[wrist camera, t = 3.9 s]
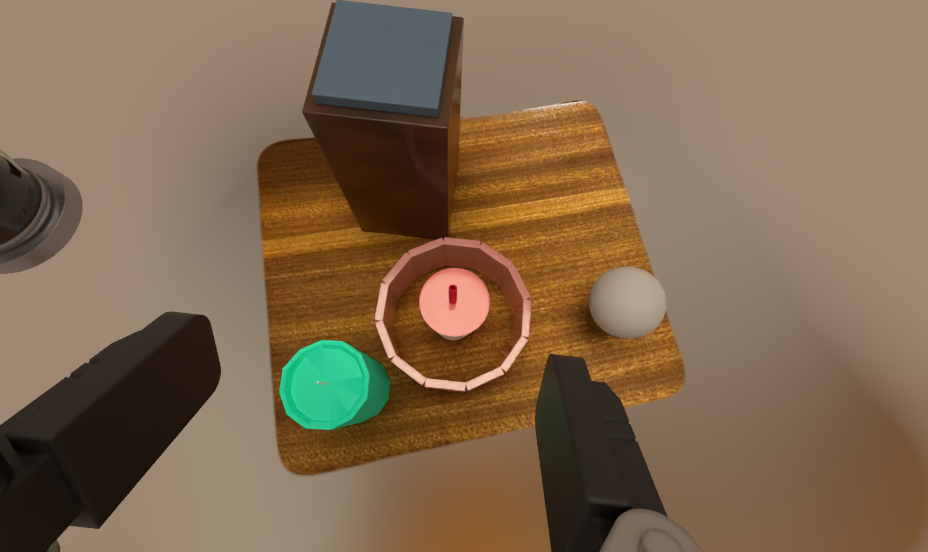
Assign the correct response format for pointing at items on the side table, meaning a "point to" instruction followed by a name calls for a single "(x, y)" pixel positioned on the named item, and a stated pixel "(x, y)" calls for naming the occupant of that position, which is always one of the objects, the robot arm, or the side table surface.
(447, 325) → the cup
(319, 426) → the candle
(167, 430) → the robot arm
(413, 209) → the stand
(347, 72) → the coaster
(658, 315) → the light bulb
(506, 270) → the pink segmented ring
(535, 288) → the side table surface
